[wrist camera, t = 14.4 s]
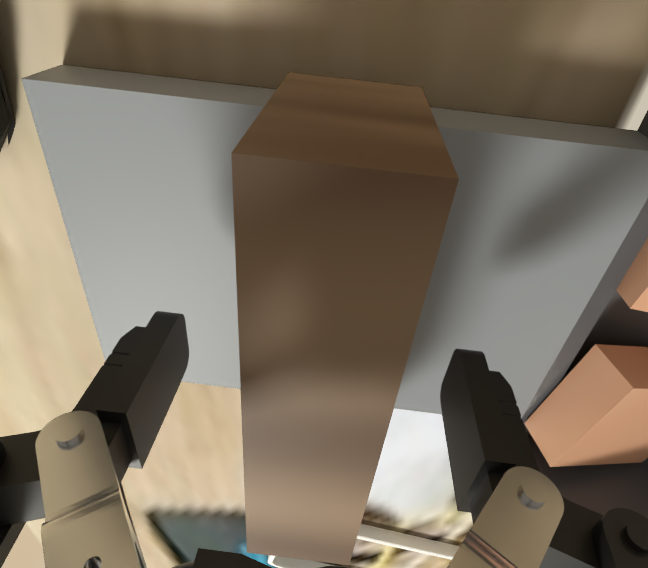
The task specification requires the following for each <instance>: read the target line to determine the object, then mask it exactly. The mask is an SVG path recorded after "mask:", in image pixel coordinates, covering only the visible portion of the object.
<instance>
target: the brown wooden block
mask: <svg viewBox="0 0 648 568" xmlns="http://www.w3.org/2000/svg"><path fill="white" fill-rule="evenodd" d="M231 158H232V183H233V208H234V233H235V259H236V284H237V309H238V334H239V359H240V385H241V410H242V435H243V460H244V486H245V511H246V536H247V552H249V553H257V554H264V555H272V556H280V557H288V558H295V559H303V560H311V561H319V562H326V563H334V564H342V565H349V563H350V560H351V556H352V553H353V549H354V546H355V542H356V539H357V535H358V532H359V528H360V525H361V521H362V518H363V514H364V511H365V507H366V504H367V500H368V497H369V493H370V490H371V486H372V483H373V479H374V476H375V472H376V469H377V465H378V461H379V458H380V454H381V451H382V447H383V444H384V440H385V437H386V433H387V430H388V426H389V423H390V419H391V416H392V412H393V409H394V405H395V402H396V398H397V395H398V391H399V388H400V384H401V381H402V377H403V374H404V370H405V367H406V363H407V360H408V356H409V353H410V349H411V346H412V342H413V339H414V335H415V332H416V328H417V325H418V321H419V318H420V314H421V311H422V307H423V304H424V300H425V296H426V293H427V289H428V286H429V282H430V279H431V275H432V272H433V268H434V265H435V261H436V258H437V254H438V251H439V247H440V244H441V240H442V237H443V233H444V230H445V226H446V223H447V219H448V216H449V212H450V209H451V205H452V202H453V198H454V195H455V191H456V188H457V184H458V181H459V178H458V175H457V173H456V171H455V168H454V166H453V163H452V161H451V158H450V156H449V153H448V151H447V148H446V146H445V143H444V141H443V138H442V136H441V134H440V131H439V129H438V126H437V124H436V121H435V119H434V116H433V114H432V111H431V109H430V106H429V104H428V101H427V99H426V96H425V94H424V92H423V89H422V87H415V86H406V85H397V84H389V83H380V82H371V81H362V80H353V79H344V78H335V77H326V76H317V75H308V74H299V73H290V72H289V73H288V74H287V76H286V77H285V78H284V80H283V81H282V83H281V84H280V85H279V87H278V88H277V90H276V91H275V92H274V94H273V95H272V97H271V98H270V99H269V101H268V102H267V104H266V105H265V106H264V108H263V109H262V111H261V112H260V113H259V115H258V116H257V118H256V119H255V120H254V122H253V123H252V125H251V126H250V127H249V129H248V130H247V132H246V133H245V134H244V136H243V137H242V139H241V140H240V141H239V143H238V144H237V146H236V147H235V148H234V150H233V151H232V153H231Z"/></svg>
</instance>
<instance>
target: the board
mask: <svg viewBox="0 0 648 568" xmlns="http://www.w3.org/2000/svg"><path fill="white" fill-rule="evenodd" d="M22 82H23V85H24V89H25V92H26V96H27V99H28V102H29V106H30V109H31V112H32V116H33V119H34V123H35V126H36V129H37V133H38V136H39V139H40V143H41V146H42V149H43V153H44V156H45V160H46V163H47V166H48V170H49V173H50V176H51V180H52V183H53V187H54V190H55V193H56V197H57V200H58V203H59V207H60V210H61V213H62V217H63V220H64V224H65V227H66V230H67V234H68V237H69V240H70V244H71V247H72V250H73V254H74V257H75V261H76V264H77V267H78V271H79V274H80V277H81V281H82V284H83V288H84V291H85V294H86V298H87V301H88V304H89V308H90V311H91V314H92V318H93V321H94V325H95V328H96V331H97V335H98V338H99V341H100V345H101V348H102V352H103V355H104V358H105V361H106V359H107V358H108V356H109V355H110V354H112V350H113V349H114V347H115V346H116V344H117V343H118V341H119V340H120V338H121V337H122V336H124V335H125V334H126V333H128V332H129V331H130V330H132V329H133V328H134V327H135V326H140V327H146V326H147V324H148V323H149V321H150V319H151V318H152V316H153V314H154V313H155V312H156V311H163V312H171V313H179V314H183V315H184V317H185V322H186V330H187V338H188V345H189V360H188V365H187V369H186V371H185V374H184V376H183V378H182V380H181V382H189V383H197V384H205V385H213V386H221V387H229V388H237V389H241V385H240V359H239V334H238V309H237V284H236V259H235V233H234V208H233V183H232V158H231V153H232V151H233V150H234V148H235V147H236V146H237V144H238V143H239V141H240V140H241V139H242V137H243V136H244V134H245V133H246V132H247V130H248V129H249V127H250V126H251V125H252V123H253V122H254V120H255V119H256V118H257V116H258V115H259V113H260V112H261V111H262V109H263V108H264V106H265V105H266V104H267V102H268V101H269V99H270V98H271V97H272V95H273V94H274V92H275V91H276V90H277V89H269V88H260V87H251V86H242V85H234V84H225V83H216V82H208V81H199V80H190V79H181V78H173V77H164V76H155V75H147V74H138V73H129V72H121V71H112V70H103V69H94V68H86V67H77V66H68V65H60V66H57V67H54V68H51V69H48V70H45V71H42V72H39V73H36V74H33V75H30V76H28V77H25V78H22ZM430 109H431V111H432V114H433V116H434V119H435V121H436V124H437V126H438V129H439V131H440V134H441V136H442V138H443V141H444V143H445V146H446V148H447V151H448V153H449V156H450V158H451V161H452V163H453V166H454V168H455V171H456V173H457V175H458V178H459V181H458V184H457V188H456V191H455V195H454V198H453V202H452V205H451V209H450V212H449V216H448V219H447V223H446V226H445V230H444V233H443V237H442V240H441V244H440V247H439V251H438V254H437V258H436V261H435V265H434V268H433V272H432V275H431V279H430V282H429V286H428V289H427V293H426V296H425V300H424V304H423V307H422V311H421V314H420V318H419V321H418V325H417V328H416V332H415V335H414V339H413V342H412V346H411V349H410V353H409V356H408V360H407V363H406V367H405V370H404V374H403V377H402V381H401V384H400V388H399V391H398V395H397V398H396V402H395V405H394V408H397V409H405V410H413V411H421V412H429V413H437V414H442V410H441V403H440V392H441V385H442V382H443V379H444V376H445V374H446V371H447V368H448V366H449V363H450V360H451V357H452V355H453V352H454V350H455V349H466V350H474V351H482V352H483V353H484V355H485V358H486V361H487V364H488V368H489V371H497V372H500V373H501V374H502V375H503V377H504V378H505V379H506V380H507V382H508V383H509V384H510V385H511V387H512V390H513V393H514V396H515V399H516V402H517V406H518V408H519V411H520V414H521V418H522V417H523V415H524V413H525V411H526V410H527V408H528V406H529V404H530V403H531V401H532V399H533V398H534V396H535V394H536V392H537V391H538V389H539V387H540V385H541V384H542V382H543V380H544V378H545V377H546V375H547V373H548V371H549V370H550V368H551V366H552V364H553V363H554V361H555V359H556V357H557V356H558V354H559V352H560V350H561V349H562V347H563V345H564V343H565V342H566V340H567V338H568V336H569V335H570V333H571V331H572V329H573V328H574V326H575V324H576V322H577V321H578V319H579V317H580V315H581V314H582V312H583V310H584V309H585V307H586V305H587V303H588V302H589V300H590V298H591V296H592V295H593V293H594V291H595V289H596V288H597V286H598V284H599V282H600V281H601V279H602V277H603V275H604V274H605V272H606V270H607V268H608V267H609V265H610V263H611V261H612V260H613V258H614V256H615V254H616V253H617V251H618V249H619V247H620V246H621V244H622V242H623V240H624V239H625V237H626V235H627V233H628V232H629V230H630V228H631V226H632V225H633V223H634V221H635V220H636V218H637V216H638V214H639V213H640V211H641V209H642V207H643V206H644V204H645V202H646V200H647V199H648V137H646V136H645V135H643V134H641V133H640V132H638V131H634V130H626V129H617V128H608V127H599V126H591V125H582V124H573V123H565V122H556V121H547V120H538V119H530V118H521V117H512V116H504V115H495V114H486V113H478V112H469V111H460V110H451V109H443V108H434V107H430Z"/></svg>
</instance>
